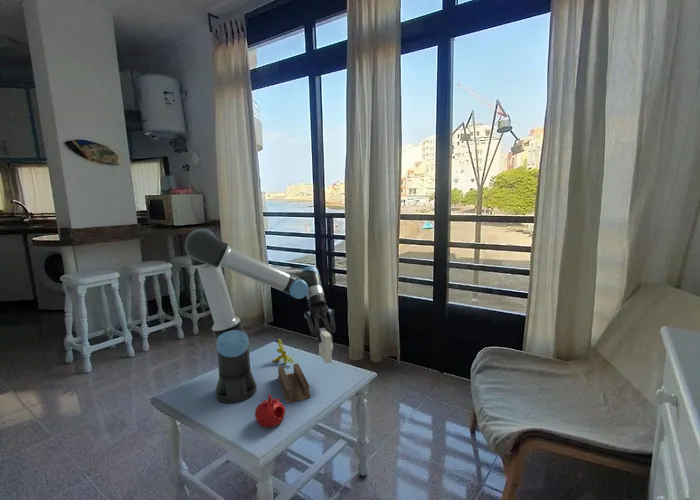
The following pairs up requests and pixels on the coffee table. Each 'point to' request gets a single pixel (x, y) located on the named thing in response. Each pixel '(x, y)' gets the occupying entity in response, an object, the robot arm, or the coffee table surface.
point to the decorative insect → (283, 354)
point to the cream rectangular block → (326, 346)
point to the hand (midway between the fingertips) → (327, 349)
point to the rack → (293, 384)
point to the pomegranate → (270, 412)
